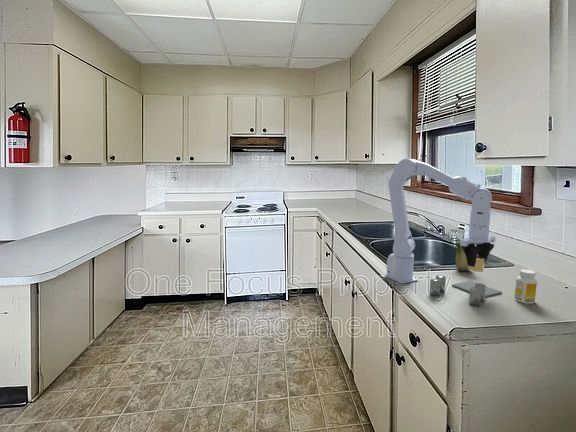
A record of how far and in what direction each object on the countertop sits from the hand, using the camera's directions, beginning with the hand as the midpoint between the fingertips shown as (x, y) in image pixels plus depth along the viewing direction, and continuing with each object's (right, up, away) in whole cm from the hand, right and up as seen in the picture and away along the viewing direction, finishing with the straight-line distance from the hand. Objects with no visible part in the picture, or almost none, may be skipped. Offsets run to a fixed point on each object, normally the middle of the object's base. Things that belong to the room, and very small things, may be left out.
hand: (476, 265), depth 118 cm
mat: (+1, -9, +2) cm, 9 cm away
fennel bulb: (+8, -6, +24) cm, 26 cm away
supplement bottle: (+11, -10, -7) cm, 17 cm away
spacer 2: (-12, -9, +1) cm, 15 cm away
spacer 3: (-6, -11, -10) cm, 16 cm away
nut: (0, -2, 0) cm, 2 cm away
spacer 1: (-15, -9, -2) cm, 18 cm away
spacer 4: (-3, -10, -7) cm, 12 cm away
